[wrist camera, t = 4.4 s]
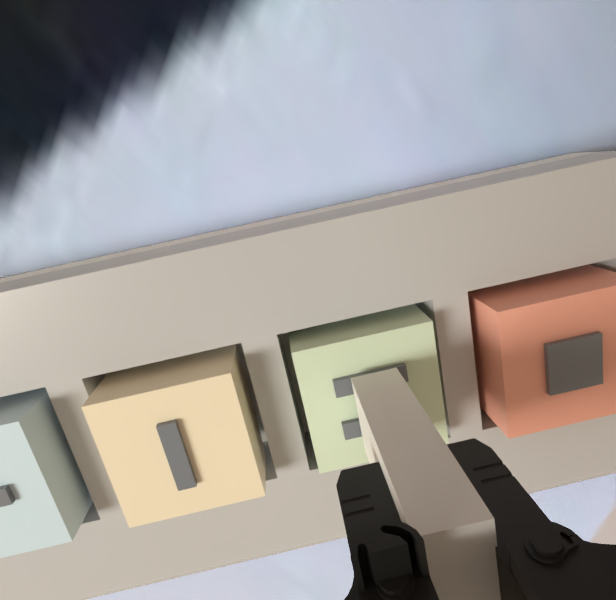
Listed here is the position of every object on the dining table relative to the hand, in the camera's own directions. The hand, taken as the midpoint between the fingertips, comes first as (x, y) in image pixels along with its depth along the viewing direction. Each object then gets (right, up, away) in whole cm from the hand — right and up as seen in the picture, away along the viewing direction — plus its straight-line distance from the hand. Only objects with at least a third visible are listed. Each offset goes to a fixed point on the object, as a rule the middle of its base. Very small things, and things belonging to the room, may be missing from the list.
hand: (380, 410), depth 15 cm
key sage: (0, +1, +3) cm, 3 cm away
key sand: (-7, -1, +2) cm, 7 cm away
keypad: (-4, +1, +5) cm, 6 cm away
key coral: (+6, +2, +2) cm, 7 cm away
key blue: (-13, -2, +2) cm, 13 cm away
